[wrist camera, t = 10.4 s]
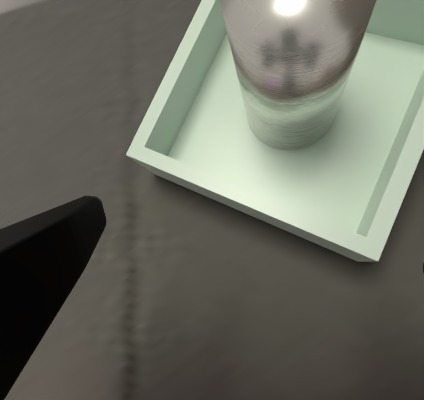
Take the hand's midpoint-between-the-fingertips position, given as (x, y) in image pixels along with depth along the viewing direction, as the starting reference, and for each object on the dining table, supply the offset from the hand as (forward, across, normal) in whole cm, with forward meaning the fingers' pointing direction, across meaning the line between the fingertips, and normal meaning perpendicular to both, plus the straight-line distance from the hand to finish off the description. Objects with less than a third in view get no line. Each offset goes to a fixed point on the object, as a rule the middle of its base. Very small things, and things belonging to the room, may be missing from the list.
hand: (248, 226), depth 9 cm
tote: (+13, -1, +1) cm, 13 cm away
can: (+13, -1, +1) cm, 13 cm away
